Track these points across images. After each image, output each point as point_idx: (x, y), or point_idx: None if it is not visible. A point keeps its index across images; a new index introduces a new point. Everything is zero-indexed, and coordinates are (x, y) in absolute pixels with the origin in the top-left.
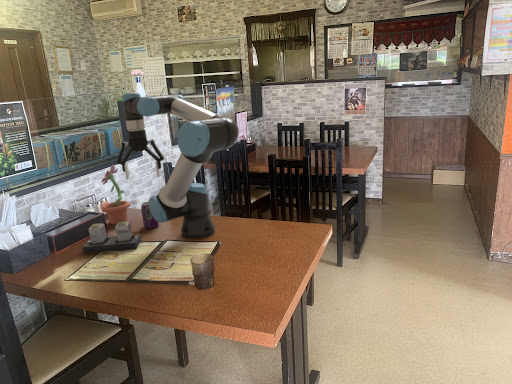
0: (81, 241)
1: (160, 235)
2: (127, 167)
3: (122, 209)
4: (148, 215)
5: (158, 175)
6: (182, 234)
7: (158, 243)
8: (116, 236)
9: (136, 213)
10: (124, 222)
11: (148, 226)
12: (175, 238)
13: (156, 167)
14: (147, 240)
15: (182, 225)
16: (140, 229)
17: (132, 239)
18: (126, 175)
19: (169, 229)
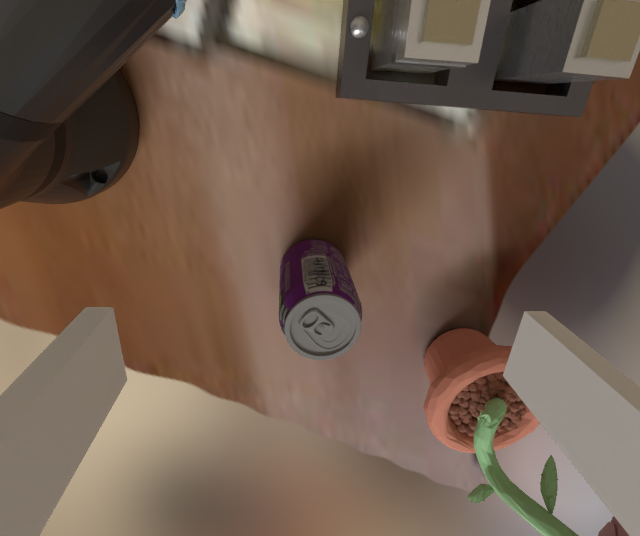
0: (598, 170)
1: (250, 138)
2: (631, 496)
3: (457, 362)
4: (318, 263)
5: (82, 319)
6: (116, 71)
7: (240, 15)
8: (461, 98)
9: (394, 426)
10: (440, 12)
11: (321, 242)
12: (160, 65)
13: (5, 424)
14: (306, 84)
15: (96, 93)
16: (358, 247)
17: (377, 56)
18: (577, 342)
19: (220, 209)
